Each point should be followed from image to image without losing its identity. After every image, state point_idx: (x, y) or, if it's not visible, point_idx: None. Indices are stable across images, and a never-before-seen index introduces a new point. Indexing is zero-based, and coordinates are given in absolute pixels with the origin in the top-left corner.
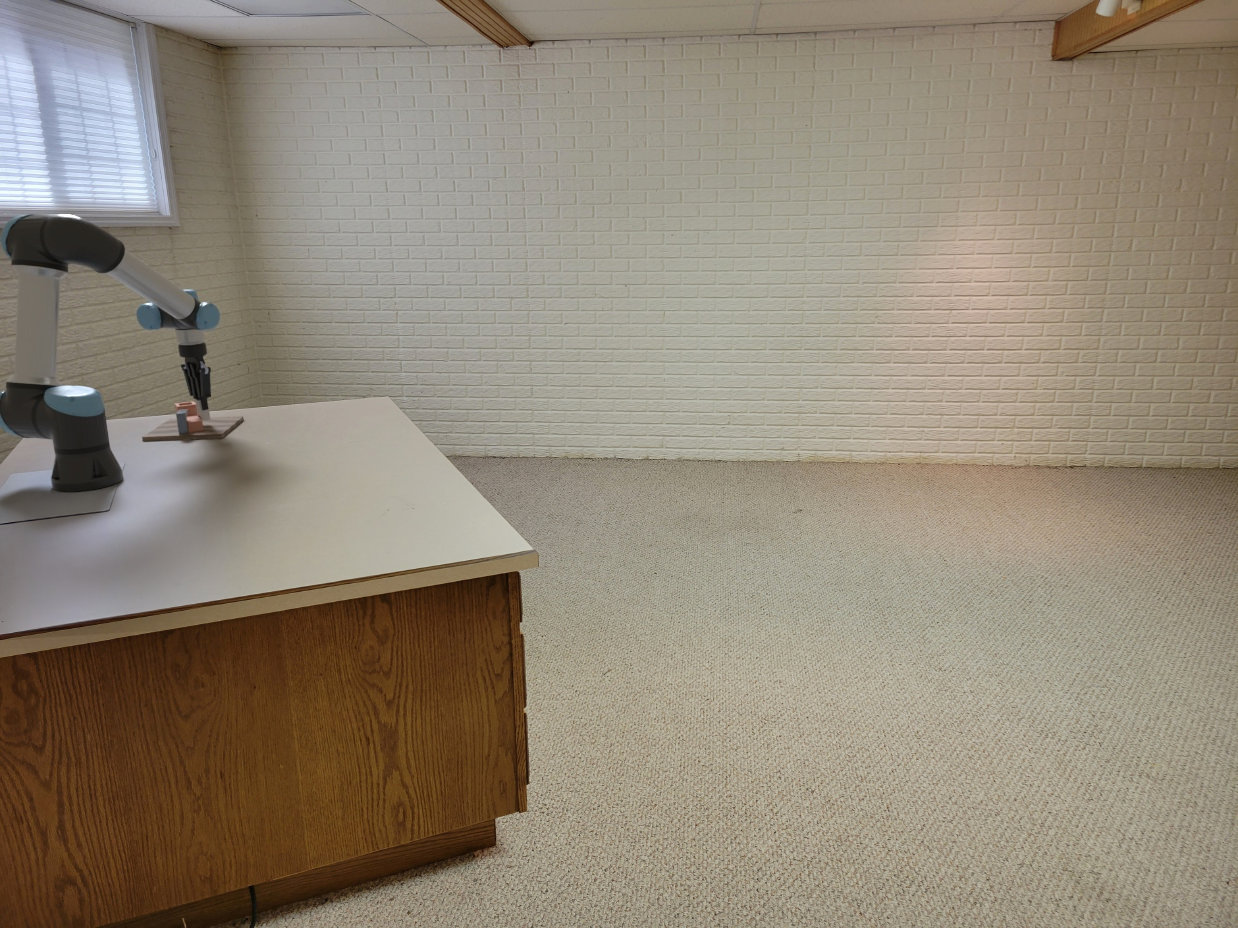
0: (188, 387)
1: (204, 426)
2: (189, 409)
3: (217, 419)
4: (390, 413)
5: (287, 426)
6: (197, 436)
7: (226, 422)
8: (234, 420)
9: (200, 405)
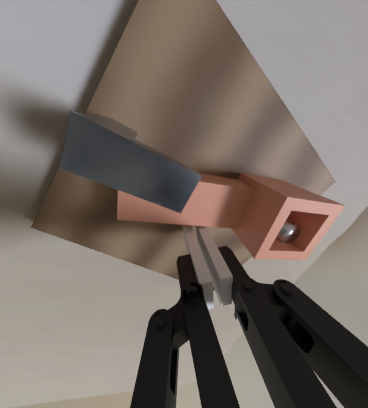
0: (335, 331)
1: None
2: (255, 226)
3: None
4: (104, 393)
5: (103, 323)
6: None
7: None
8: None
9: (193, 265)
